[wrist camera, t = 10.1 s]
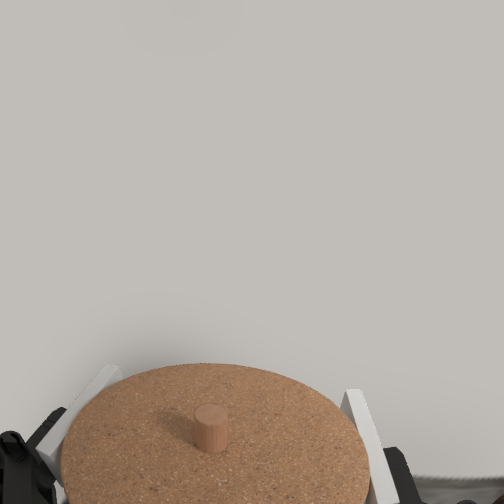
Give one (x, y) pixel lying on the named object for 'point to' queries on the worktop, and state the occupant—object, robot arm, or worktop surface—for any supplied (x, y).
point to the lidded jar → (213, 442)
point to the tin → (499, 500)
